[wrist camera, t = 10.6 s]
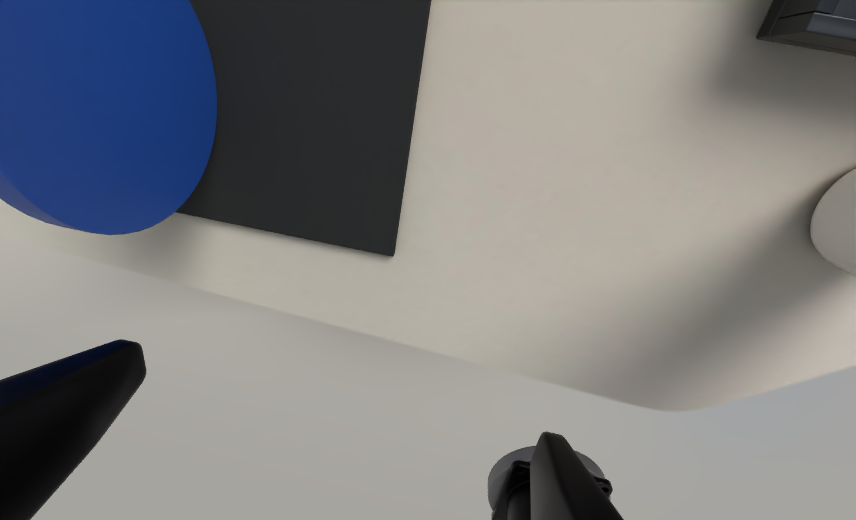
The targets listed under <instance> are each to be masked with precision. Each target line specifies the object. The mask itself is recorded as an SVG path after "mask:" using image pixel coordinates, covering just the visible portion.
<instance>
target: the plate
mask: <svg viewBox="0 0 856 520" xmlns="http://www.w3.org/2000/svg"><path fill="white" fill-rule="evenodd" d="M216 121H217V90H216V80H215V74H214V68H213V62H212V58H211V54H210V50H209V47H208V44H207V41H206V37H205V34H204V32H203V29H202V27H201V24H200V22H199V19H198V17H197V15H196V13H195V11H194V9H193V7H192V5H191V3H190V1H189V0H0V198H1V199H2V200H3V201H5V202H6V203H7V204H9V205H11V206H12V207H14V208H16V209H18V210H19V211H21V212H23V213H25V214H27V215H29V216H31V217H34V218H36V219H39V220H41V221H44V222H46V223H50V224H54V225H58V226H61V227H66V228H70V229H75V230H80V231H85V232H90V233H96V234H105V235H118V234H128V233H133V232H138V231H141V230H144V229H147V228H149V227H152V226H154V225H156V224H158V223H160V222H161V221H163V220H165V219H166V218H167V217H169V216H170V215H172V214H173V213H174V212H175V211H176V210H177V209H178V208H179V207H180V206H182V205H183V203H184V202H185V201H186V200H187V199H188V197H189V196H190V195H191V193H192V192H193V190H194V189H195V187H196V186H197V184H198V182H199V181H200V179H201V177H202V175H203V173H204V170H205V168H206V165H207V163H208V160H209V157H210V154H211V150H212V146H213V141H214V137H215V130H216Z"/></svg>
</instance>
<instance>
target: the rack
mask: <svg viewBox="0 0 856 520" xmlns="http://www.w3.org/2000/svg"><path fill="white" fill-rule="evenodd" d="M756 38H757V39H762V40H767V41H773V42H778V43H784V44H790V45H795V46H801V47H806V48H812V49H817V50H823V51H828V52H834V53H840V54H845V55H851V56H856V0H773V3H772V5H771V7H770V9H769V11H768V13H767V15H766V18H765V20H764V22H763V24H762V26H761V28H760V30H759V33H758V35H757V37H756Z"/></svg>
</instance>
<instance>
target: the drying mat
mask: <svg viewBox="0 0 856 520" xmlns="http://www.w3.org/2000/svg"><path fill="white" fill-rule="evenodd" d="M189 1H190V3H191V5H192V7H193V9H194V11H195V13H196V15H197V17H198V19H199V22H200V24H201V27H202V29H203V32H204V34H205V37H206V41H207V44H208V47H209V50H210V54H211V58H212V62H213V68H214V74H215V80H216V90H217V121H216V130H215V137H214V141H213V146H212V150H211V154H210V157H209V160H208V163H207V165H206V168H205V170H204V173H203V175H202V177H201V179H200V181H199V182H198V184H197V186H196V187H195V189H194V190H193V192H192V193H191V195H190V196H189V197H188V199H187V200H186V201H185V202H184V203H183V205H182V206H180V207H179V208H178V209H177V210H176V211H175V212H178V213H182V214H187V215H192V216H197V217H202V218H207V219H212V220H217V221H221V222H226V223H231V224H236V225H241V226H246V227H251V228H256V229H260V230H265V231H270V232H275V233H280V234H285V235H290V236H295V237H299V238H304V239H309V240H314V241H319V242H324V243H329V244H334V245H338V246H343V247H348V248H353V249H358V250H363V251H368V252H373V253H378V254H382V255H387V256H392V257H393V256H394V254H395V247H396V240H397V233H398V226H399V219H400V212H401V205H402V198H403V191H404V185H405V178H406V171H407V164H408V157H409V150H410V143H411V136H412V129H413V122H414V116H415V109H416V102H417V95H418V88H419V81H420V74H421V67H422V60H423V53H424V46H425V40H426V33H427V26H428V19H429V12H430V5H431V0H189Z"/></svg>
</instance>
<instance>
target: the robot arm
mask: <svg viewBox="0 0 856 520" xmlns="http://www.w3.org/2000/svg"><path fill="white" fill-rule="evenodd" d="M145 375H146V367H145V361H144V356H143V350H142V347H141V345H140V344H139V343H137V342H132V341H127V340H116V341H113V342H110V343H107V344H104V345H101V346H98V347H95V348H92V349H89V350H86V351H83V352H81V353H78V354H75V355H72V356H69V357H66V358H63V359H60V360H57V361H54V362H51V363H48V364H45V365H42V366H40V367H37V368H34V369H31V370H28V371H25V372H22V373H19V374H16V375H13V376H10V377H8V378H5V379H2V380H0V520H30V519H31V518H32V517H33V516H34V515H35V514H36V513H37V511H38V510H39V509H40V508H41V507H42V506H43V505H44V504H45V502H46V501H47V500H48V499H49V498H50V497H51V496H52V494H53V493H54V492H55V491H56V490H57V489H58V488H59V486H60V485H61V484H62V483H63V482H64V481H65V480H66V478H67V477H68V476H69V475H70V474H71V473H72V472H73V471H74V469H75V468H76V467H77V466H78V465H79V464H80V463H81V462H82V460H83V459H84V458H85V457H86V456H87V455H88V454H89V452H90V451H91V450H92V449H93V448H94V447H95V445H96V444H97V443H98V441H99V440H100V439H101V437H102V436H103V435H104V434H105V432H106V431H107V430H108V428H109V427H110V426H111V424H112V423H113V422H114V420H115V419H116V418H117V416H118V415H119V413H120V412H121V411H122V409H123V408H124V407H125V405H126V404H127V403H128V401H129V400H130V399H131V397H132V396H133V395H134V393H135V392H136V391H137V389H138V388H139V386H140V385H141V384H142V382H143V380H144V378H145ZM612 490H613V489H612V486H611V483H610V481H609V480H607V479H603V478H598V477H594V476H592V475H591V474H590V472H589V471H588V470H587V468H586V467H585V465H584V464H583V463H582V461H581V460H580V458H579V457H578V456H577V454H576V453H575V452H574V450H573V449H572V447H571V446H570V445H569V443H568V442H567V440H566V439H565V438H564V437H563V436H562V435H559V434H555V433H550V432H543V433H542V434H541V436H540V438H539V440H538V443H537V445H536V448H535V450H534V452H533V455H532V458H531V463H530V462H526V461H521V460H517V461H514V462H513V463H512V464H511V467H510V469H509V472H508V474H507V477H506V479H505V482H504V484H503V487H502V490H501V492H500V495H499V497H498V500H497V502H496V505H495V507H494V510H493V512H492V520H623V518H622V517H621V515H620V514H619V513H618V511H617V510H616V509H615V507H614V506H613V504H612V503H611V502H610V500H609V499H608V498H609V496H610V494H611V492H612Z"/></svg>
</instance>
